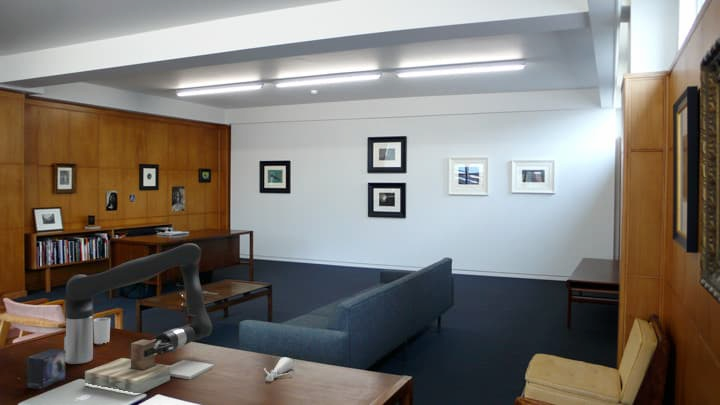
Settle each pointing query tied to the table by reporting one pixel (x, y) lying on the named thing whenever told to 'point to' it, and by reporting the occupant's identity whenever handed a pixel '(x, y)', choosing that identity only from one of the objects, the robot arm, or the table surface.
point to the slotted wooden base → (127, 376)
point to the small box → (46, 368)
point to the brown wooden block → (142, 355)
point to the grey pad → (188, 369)
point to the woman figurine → (280, 369)
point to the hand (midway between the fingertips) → (137, 353)
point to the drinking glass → (101, 330)
